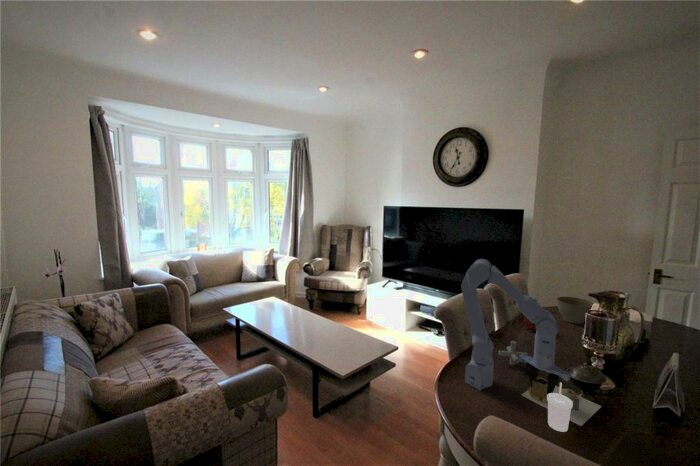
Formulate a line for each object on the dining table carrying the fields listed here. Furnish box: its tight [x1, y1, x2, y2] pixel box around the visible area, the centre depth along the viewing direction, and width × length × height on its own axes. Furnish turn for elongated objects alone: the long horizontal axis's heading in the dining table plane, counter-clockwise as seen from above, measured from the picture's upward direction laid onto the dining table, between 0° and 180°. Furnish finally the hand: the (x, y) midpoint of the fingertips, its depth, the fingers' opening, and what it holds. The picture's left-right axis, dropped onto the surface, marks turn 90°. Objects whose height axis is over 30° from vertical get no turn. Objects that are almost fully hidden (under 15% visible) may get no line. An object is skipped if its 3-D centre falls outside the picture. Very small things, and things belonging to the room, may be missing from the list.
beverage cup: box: [547, 381, 573, 433], centre depth 88 cm, size 6×6×14 cm
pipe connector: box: [498, 340, 529, 366], centre depth 121 cm, size 10×10×10 cm
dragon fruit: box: [521, 317, 536, 332], centre depth 154 cm, size 8×8×12 cm
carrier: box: [521, 385, 602, 427], centre depth 100 cm, size 15×17×4 cm
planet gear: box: [527, 376, 548, 403], centre depth 102 cm, size 7×7×5 cm
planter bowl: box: [556, 296, 595, 325], centre depth 165 cm, size 16×16×11 cm
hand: (541, 390), depth 102 cm, fingers closed on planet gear, 4 cm apart
